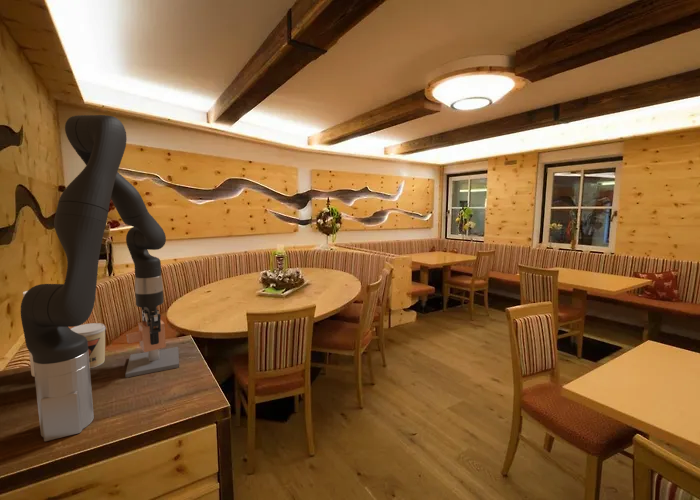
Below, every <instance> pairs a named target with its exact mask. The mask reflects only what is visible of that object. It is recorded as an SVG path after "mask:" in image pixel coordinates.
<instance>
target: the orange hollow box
mask: <svg viewBox="0 0 700 500" xmlns="http://www.w3.org/2000/svg"><path fill="white" fill-rule="evenodd" d="M150 323H151V322H150ZM137 324H138V331H134V332H129V333H125V335H126V342H127V344H128V345H129V344H134V343H137V342H139V347H140V348H141V351H143V352H142V353H144V352H148V351H152V350H156V349H159V350H161V349H165V348H166V347H167V346H166V344H167V343H166V327H165V325H166V324H165V322H164V321H163V320H162V319H161V332H158V334H159V343H158V344H154V345H151V343H150V333H149V327H148V326H147V325H146V322H142V321H139V322H138V323H137ZM153 329H156V326H154V327H153Z"/></svg>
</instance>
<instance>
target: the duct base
mask: <svg viewBox="0 0 700 500" xmlns="http://www.w3.org/2000/svg"><path fill="white" fill-rule="evenodd" d="M179 357H180V356H179V346H175V347H169V348H168V347H167V348H161V349H156V350H152V351H148V352H139V353H131V354H130V355H129V359H128V363H127V366H126V371H125V373H124V374H125V378H130V377H136V376H141V375H147V374H152V373H158V372H162V371H168V370H173V369H177V368H180V359H179Z"/></svg>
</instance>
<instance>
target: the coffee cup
mask: <svg viewBox="0 0 700 500" xmlns="http://www.w3.org/2000/svg"><path fill="white" fill-rule="evenodd" d="M70 329H71V330H72V331H74V332H76V333H78V334H80V335H83V336H84V337H86V339H87V341H88V351H89V364H90V369H94V368H96V367H99V366H101V365H102V364H104V362H105V361H106V360H105V358H106V326H105V324H104V323H99V322H94V323H93V322H92V323H91V322H90V323H83V324H81V325H79V326H74V327H71V328H70Z"/></svg>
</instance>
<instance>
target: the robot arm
mask: <svg viewBox="0 0 700 500" xmlns="http://www.w3.org/2000/svg"><path fill="white" fill-rule="evenodd" d="M64 131H65V134H66V135H65V136H66V138H67V140H68V142H69V143H70V145H71V147H72V148H73V150H74V151H75V152H76V153H77V155H78V156H79V157H80V159H81V160H82V161H83V163H84V164H85V166H84V168H83V170H81V172H79V174H78V175H77V176H75V178H74V179H73V180H72V181H71V182H70V183H69V184H68V185H67V186H66V187H65V188H64V190H63V192H61V195H60V197H59V199H58V202H57V206H56V210H55V214H54V215H55V216H54V220H53V225H54V230H55V233H56V235H57V238H58V240H59V243H60V245H61V247H62V249H63V251H64V253H65V256H66V261H67V262H66V263H67V264H66V265H67V267H66V274H65V280H64V283H41V284H37V285H34V286H33V287H31V288H29V289H28V290H26V291H27V292H26V294H25V295H24V297H23V296H22V300H21V304H20V320H21V325H22V330H23V334H24V335H23V336H24V341H25V346H26V349H27V351H28V353H29V352H30V353H31V354H32V356H33V364H34V374H35V377H34V384H35V392H36V401H37V411H38V419H39V420H38V421H39V428H40V429H39V430H40V435H41V437H42V438H43V442H49V441H53V440H56V439H60V438H64V437H69V436H73V435H77V434H80V433H81V432H82V431H83V430H84V429H85V428H86V427H88V426H89V425H90V424H91V423H92V422H93V420H94V417H95V415H94V404H93V402H94V401H93V390H92V378H91V368H90V364H89V351H88V341H87V339H86V337H84V336H83V335H80V334H78V333H76V332H74V331H72V330H71V328H73V327H76V326H79V325H84V324H85V323H86V322H87V321H88V319H89V318H90V316H91V315H92V312H93V309H94V306H95V302H96V293H97V292H96V291H97V281H98V272H99V271H98V269H99V260H100V254H101V249H102V243H103V237H104V233H105V230H106V225H107V221H108V215H109V210H110V204H111V202H112V204H113V206H114V207H115V210H116V211H117V213H118V215H119V217H120V219H121V220H122V222H123V223H124V224H125V225H128V226H130V227H131V228H129V229H128V231H127V232H126V237H125V243H126V247H127V248H128V252H129V254H130V256H131V260H132V262H133V264H134V295H135V298H134V299H135V305H136V306H135V307H138V308H140V309H141V318H142V321H141V322H146V325H147V326H148V327H149V333H150V343H151V345H154V344H158V343H159V334H158V332H161V320H162V319H161V313H160V310H159V309H158V306H161V305H163V303H164V302H165V301H164V299H165V298H164V285H163V283H164V282H163V277H162V263H161V260H160V259H161V258H159V257H156V256H154V255H151V254H150V253H149V251H150V250H151V251H156V250H161V249H162V248H163V247H164V246H165V245H166V240H167V238H166V237H167V235H166V233H165V231H164V229H163V228H162V226H161V225H160V224H159V223H158V222H157V220H156V219H155V218H154V217H153V215H151V213H150V212H149V210H148V208H147V206H146V204H145V201H144V200H143V198H142V196H141V193H140V192H139V191H138V190H137V188H136V187H135V186H134V185H133V184H132V183H130V181H129V180H128V179H126V178H125V177H124V176H123V175H121V173H119V168H120V165H121V162H122V159H123V157H124V154H125V151H126V147H127V132H126V128H125V125H124V124H123V123H122V121H121V120H120V119H119V118H117V117H116V116H115V117H114V116H113V115H106V114H87V115H85V114H84V115H83V114H81V115H80V114H79V115H73V116H70V117H69V118H68V119H67V120H66V121H65V124H64ZM150 322H151V323H150ZM154 326H156V329H153V327H154ZM70 327H71V328H70Z"/></svg>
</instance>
